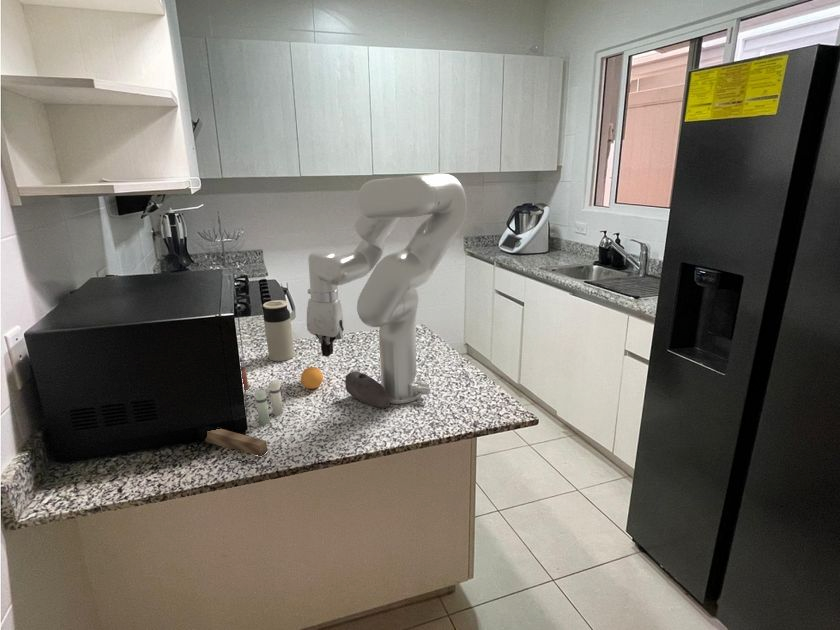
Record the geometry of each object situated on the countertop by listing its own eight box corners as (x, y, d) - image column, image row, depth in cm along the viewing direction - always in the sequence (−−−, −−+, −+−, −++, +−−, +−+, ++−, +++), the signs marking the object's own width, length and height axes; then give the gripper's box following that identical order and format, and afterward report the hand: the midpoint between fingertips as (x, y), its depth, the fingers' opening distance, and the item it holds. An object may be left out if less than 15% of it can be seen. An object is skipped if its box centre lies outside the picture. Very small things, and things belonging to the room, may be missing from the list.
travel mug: (279, 364, 151) (272, 309, 145) (263, 358, 156) (256, 304, 150) (299, 355, 157) (294, 302, 151) (284, 350, 162) (277, 298, 156)
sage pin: (272, 421, 119) (267, 390, 116) (265, 426, 117) (260, 395, 114) (264, 419, 120) (259, 388, 117) (257, 424, 118) (252, 393, 115)
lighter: (222, 387, 137) (216, 354, 134) (231, 382, 140) (226, 350, 137) (242, 393, 133) (237, 359, 130) (252, 387, 136) (247, 355, 133)
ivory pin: (285, 411, 124) (281, 381, 121) (278, 416, 121) (274, 386, 119) (277, 409, 124) (273, 380, 122) (270, 414, 122) (266, 384, 120)
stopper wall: (267, 452, 107) (266, 440, 106) (261, 457, 105) (260, 445, 104) (206, 435, 114) (204, 424, 113) (200, 439, 112) (197, 428, 111)
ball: (328, 384, 137) (326, 365, 135) (315, 394, 132) (313, 374, 130) (310, 381, 140) (308, 362, 138) (297, 390, 134) (295, 370, 132)
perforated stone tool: (396, 408, 125) (395, 383, 122) (381, 416, 121) (380, 391, 119) (359, 389, 134) (357, 367, 132) (344, 396, 131) (342, 373, 129)
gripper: (294, 295, 136) (298, 354, 142) (339, 303, 130) (342, 364, 137) (310, 288, 142) (313, 345, 149) (354, 295, 137) (356, 354, 143)
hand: (327, 354), depth 143 cm, fingers closed
